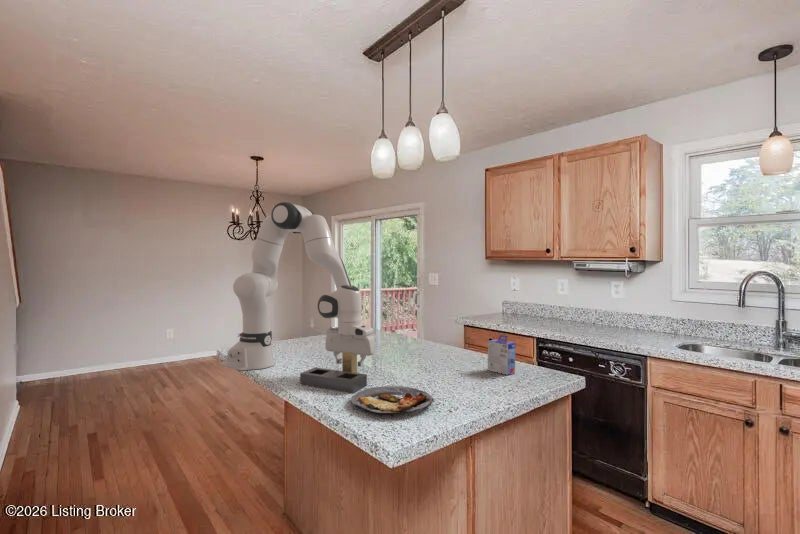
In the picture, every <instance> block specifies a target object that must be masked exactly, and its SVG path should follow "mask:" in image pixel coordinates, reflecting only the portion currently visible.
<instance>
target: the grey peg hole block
mask: <svg viewBox="0 0 800 534" xmlns="http://www.w3.org/2000/svg"><path fill="white" fill-rule="evenodd" d="M299 373H300V374H299V375H300V377H299V378H300V379H299V382H300V384H302V385H301V386H306V385H308V386H307V387H312V386H313V387H314V388H318V387H319V388H318V389H324V388H325V389H326V390H330V389H331V390H332V391H336V392H337V391H339V392H344V393H350V394H356V393H358V392H359V391H361V390H362V389H364V388H365V387H367V386H368V374H367V373H359V372H357V373H353V372H346V371H342V370H338V369H330V368H323V367H322V368H321V367H313V368H311V369H307V370H305V371H303V372H299ZM300 384H299V385H300ZM313 387H312V388H313ZM325 389H324V390H325Z"/></svg>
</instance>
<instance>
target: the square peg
mask: <svg viewBox="0 0 800 534" xmlns="http://www.w3.org/2000/svg"><path fill="white" fill-rule="evenodd" d="M341 354H342V358H341V359H342V363H341V364H342V368H341V371H346V372H353V373H358V355H357V354H352V352H344V351H342V353H341Z"/></svg>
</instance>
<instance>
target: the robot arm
mask: <svg viewBox="0 0 800 534" xmlns="http://www.w3.org/2000/svg"><path fill="white" fill-rule="evenodd" d="M291 232H292V233H293V234H302V237H303V242H304V248H305V252H306V255H307V257H308V259H309V260H310V261H311V262H312V263H314V264H315V265H318V266H320V267H322V268H324V269H326V271H328V272H329V273H330V274H331V277H332V279H333V281H334V285H335V287H336V290H334V291H332V292H328V293H325V294H323V295H321V296H320V297H319V299H318V301H317V311H318V313H319V315H320V316H321V317H322V318H324V319H336V318H337V327H335V326H334V327H333V326H330V327H328V328H327V329H326V338H325V350H326V351H327V352H333V356H334V357H335V360H336V361H335V363H336V364H337V365H341V364H342V358H341V357H340V353H341V354H342V351H344V352H352V354H357V356H359V355H360V357H359V358H360V360H359V361H357V367H359V368H361V367H364V361H365V360H366V358H367V357H370V356H372V355H374V354H375V352H376V340H375V336H374V335H373V333H374V327H373V328H372V327H371V326H368V325H367V324H365V323H363V322H362V321H363V320H362V315H361V313H362V309H363V308H362V305H363V304H362V293H361V291H360V290H361V289H360V288H358V287H357V286H355V285H352V284H351V280H350V277H349V275H348V272H347V269H346V266H345V264H344V260H343V259H342V257H341V256H340V254H339V253H338V251H337V250H336V247H335V244H334V241H333V238H332V237H333V236H332V233H331V229H330V227H329V225H328V222H327V219H326V218H325V217H324V216H323V215H321V214H315V213H314V212H313V210H311V209H309V208H307V207H305V206H303V205H301V204H294V203H291V202H289V201H287V202H285V201H283V202H278V203H277V204H275V205H274V206H273V208H272V210H271V214H270V215H267V216H265V218H264V220H263V221H262V223H261V225H260V228H259V230H258V233H257V235H256V239H255V242H254V245H253V249H252V251H251V258H252V270H251V272H247V273H244V274H242V275H239V276H238V277H237V278H236V279H235V281H234V282H233V285H232V290H233V293H234V294H235V295H236V297H237V298H238V302H239V304H240V308H241V312H242V313H241V315H242V332H241V333H237V338H239V341H237V343H235V344H234V345H233V346H232V347H230V348H229V349H228V351H227V353H226V360H223V361H221V362H220V366H221V367H225V368H230V369H233V370H236V371H240V372H241V371H248V370H249V371H250V370H251V371H252V370H261V369H266V368H271V367H272V366H274V365H275V364H276V363H275V359H274V356H273V355H274V354H273V347H272V340H273V332H272V329H271V327H272V325H271V323H272V321H271V318H272V317H271V316H272V314H271V311H270V309H269V308H268V305H267V300H266V299H267V298H268V297H271V295H272V294H274V293H275V292H276V291H277V289H278V286H279V282H278V269H279V268H278V267H279V262H280V259H281V258H280V257H281V256H282V251H283V248H284V247H283V246H284V245H285V241H286V237H287V236H288V234H291Z"/></svg>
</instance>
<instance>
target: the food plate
mask: <svg viewBox="0 0 800 534" xmlns="http://www.w3.org/2000/svg"><path fill="white" fill-rule="evenodd" d="M396 395H398V396H396ZM401 395H402V396H401ZM434 399H435V398H434V397H433V396H432V395H431V394H430V393H428V392H426V391H424V390H420V389H418V388H414V387H413V388H412V387H409V386H403V385H402V386H401V385H400V386H398V385H395V386H389V385H387V386H386V385H384V386H375V387H370V388H366V389H364V390H358V391H357V392H356V393H354V394H353V395H352V396H351V399H350V401H351V402H352V404H353V405H354V406H358V407H360V408H362V409H364V410H367V411H369V412H373V413H376V414H382V415H387V414H388V415H396V414H397V415H400V414H410V413H412V412H416V411H419V410H422V409H427V408H429V406H431V405H432V403H433V402H434V401H435V400H434Z"/></svg>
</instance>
